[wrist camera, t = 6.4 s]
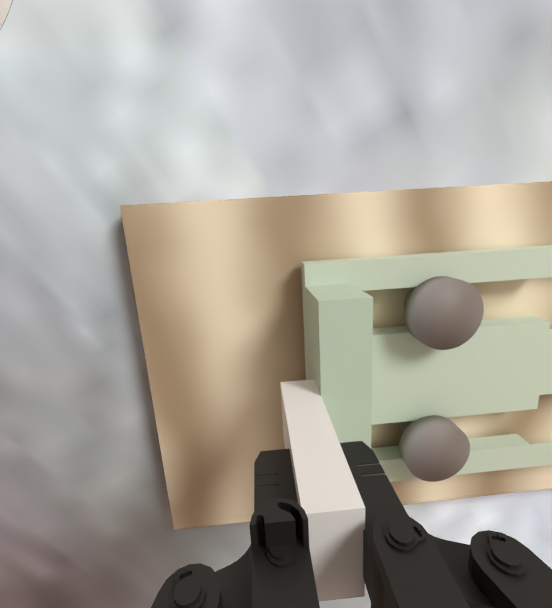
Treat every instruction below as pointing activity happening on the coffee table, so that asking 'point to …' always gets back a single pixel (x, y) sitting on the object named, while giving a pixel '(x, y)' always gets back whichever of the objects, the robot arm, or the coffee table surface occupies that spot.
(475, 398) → the panel
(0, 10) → the mug
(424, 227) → the board
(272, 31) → the coffee table surface
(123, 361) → the coffee table surface
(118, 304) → the coffee table surface
